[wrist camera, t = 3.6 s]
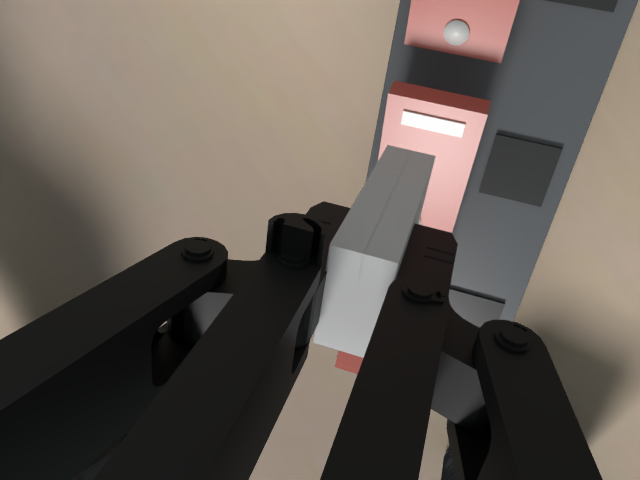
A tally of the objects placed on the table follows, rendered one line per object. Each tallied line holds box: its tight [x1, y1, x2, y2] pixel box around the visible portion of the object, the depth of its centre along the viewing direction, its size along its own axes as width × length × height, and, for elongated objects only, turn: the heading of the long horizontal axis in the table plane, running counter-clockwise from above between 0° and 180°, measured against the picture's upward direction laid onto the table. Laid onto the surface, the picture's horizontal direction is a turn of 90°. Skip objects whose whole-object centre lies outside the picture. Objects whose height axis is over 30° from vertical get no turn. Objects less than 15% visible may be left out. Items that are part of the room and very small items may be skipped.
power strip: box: [366, 0, 638, 327], centre depth 32 cm, size 10×36×5 cm, turn 172°
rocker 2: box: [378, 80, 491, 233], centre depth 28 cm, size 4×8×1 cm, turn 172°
